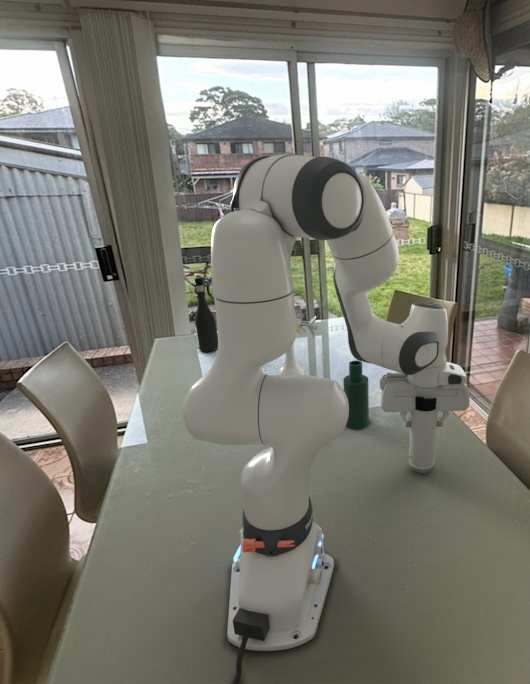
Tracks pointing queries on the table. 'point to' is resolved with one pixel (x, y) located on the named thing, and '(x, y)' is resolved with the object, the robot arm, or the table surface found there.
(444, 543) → the table surface
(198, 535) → the table surface
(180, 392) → the table surface
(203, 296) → the wine bottle
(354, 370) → the green bottle
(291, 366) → the flower vase
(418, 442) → the travel mug
